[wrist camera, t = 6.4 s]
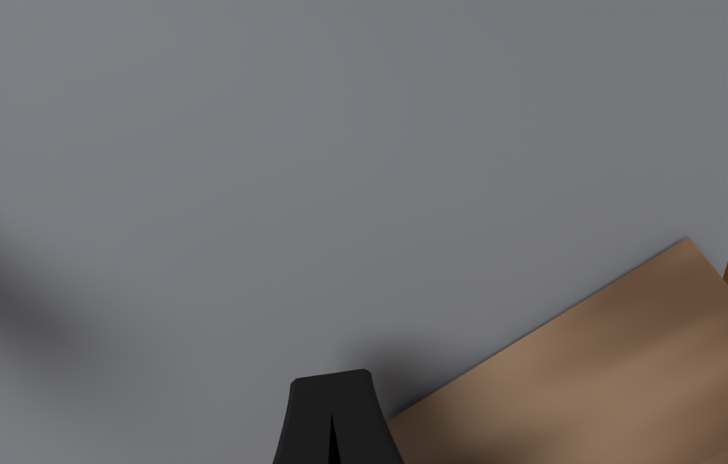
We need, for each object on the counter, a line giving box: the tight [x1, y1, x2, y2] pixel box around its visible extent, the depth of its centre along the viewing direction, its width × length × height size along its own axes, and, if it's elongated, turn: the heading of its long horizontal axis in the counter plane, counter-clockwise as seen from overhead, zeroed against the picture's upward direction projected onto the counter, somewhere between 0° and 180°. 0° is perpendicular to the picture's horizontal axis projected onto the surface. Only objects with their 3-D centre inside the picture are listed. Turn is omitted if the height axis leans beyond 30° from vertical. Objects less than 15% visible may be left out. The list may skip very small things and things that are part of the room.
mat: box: [0, 0, 728, 464], centre depth 14 cm, size 20×18×1 cm
